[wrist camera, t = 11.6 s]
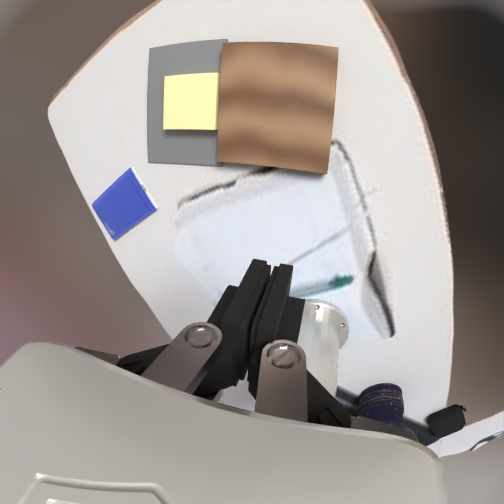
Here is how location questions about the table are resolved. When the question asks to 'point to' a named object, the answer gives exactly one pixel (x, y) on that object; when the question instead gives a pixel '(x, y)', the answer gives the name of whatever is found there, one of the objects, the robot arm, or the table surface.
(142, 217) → the hard drive
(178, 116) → the sticky pad
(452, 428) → the carrying case or bag
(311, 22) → the table surface
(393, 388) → the storage jar
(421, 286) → the table surface
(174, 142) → the mat
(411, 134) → the table surface
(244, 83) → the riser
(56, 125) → the table surface
